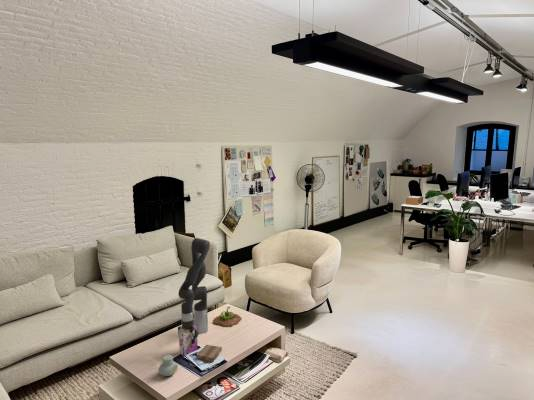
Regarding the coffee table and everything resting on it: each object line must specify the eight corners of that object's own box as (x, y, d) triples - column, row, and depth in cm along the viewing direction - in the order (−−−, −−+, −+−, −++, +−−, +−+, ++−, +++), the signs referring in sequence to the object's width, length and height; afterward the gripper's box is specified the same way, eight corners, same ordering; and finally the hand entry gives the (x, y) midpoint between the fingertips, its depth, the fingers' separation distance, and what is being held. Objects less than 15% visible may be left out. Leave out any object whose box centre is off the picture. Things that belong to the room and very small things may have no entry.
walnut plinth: (197, 359, 235) (196, 355, 235) (206, 348, 248) (206, 344, 247) (213, 362, 232) (212, 357, 232) (221, 351, 244) (221, 347, 244)
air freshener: (168, 379, 215) (167, 363, 214) (156, 376, 219) (155, 360, 217) (179, 369, 225) (179, 353, 224) (168, 366, 229) (167, 351, 227)
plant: (245, 319, 290) (245, 305, 288) (230, 330, 273) (230, 315, 272) (225, 313, 300) (225, 300, 299) (209, 323, 284) (208, 309, 282)
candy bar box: (183, 356, 239) (182, 332, 237) (179, 353, 242) (178, 329, 240) (198, 349, 247) (197, 326, 244) (193, 347, 250) (192, 323, 248)
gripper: (174, 319, 240) (175, 343, 242) (194, 322, 236) (195, 347, 238) (180, 314, 247) (181, 338, 249) (200, 317, 243) (201, 341, 245)
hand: (188, 342), depth 244 cm, fingers closed on candy bar box, 6 cm apart
